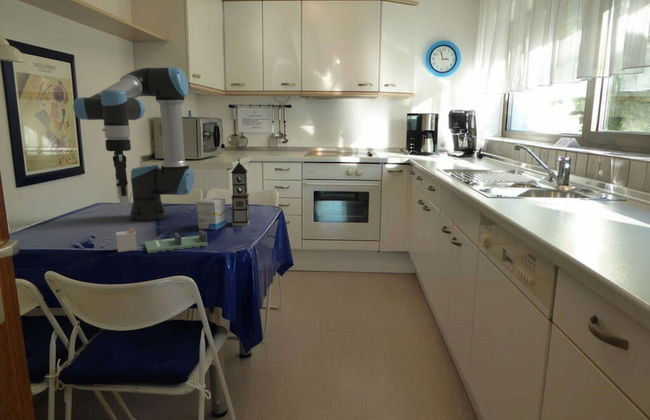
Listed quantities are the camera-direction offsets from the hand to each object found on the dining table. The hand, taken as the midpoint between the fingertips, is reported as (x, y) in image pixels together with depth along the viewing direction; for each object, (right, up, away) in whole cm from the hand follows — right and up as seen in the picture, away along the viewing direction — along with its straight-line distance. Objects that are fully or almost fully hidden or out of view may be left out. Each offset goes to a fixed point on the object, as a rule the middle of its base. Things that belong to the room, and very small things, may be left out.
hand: (123, 202), depth 155 cm
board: (+15, -15, +9) cm, 23 cm away
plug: (0, -16, +4) cm, 17 cm away
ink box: (+22, -10, +35) cm, 42 cm away
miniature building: (+32, -9, +40) cm, 52 cm away
